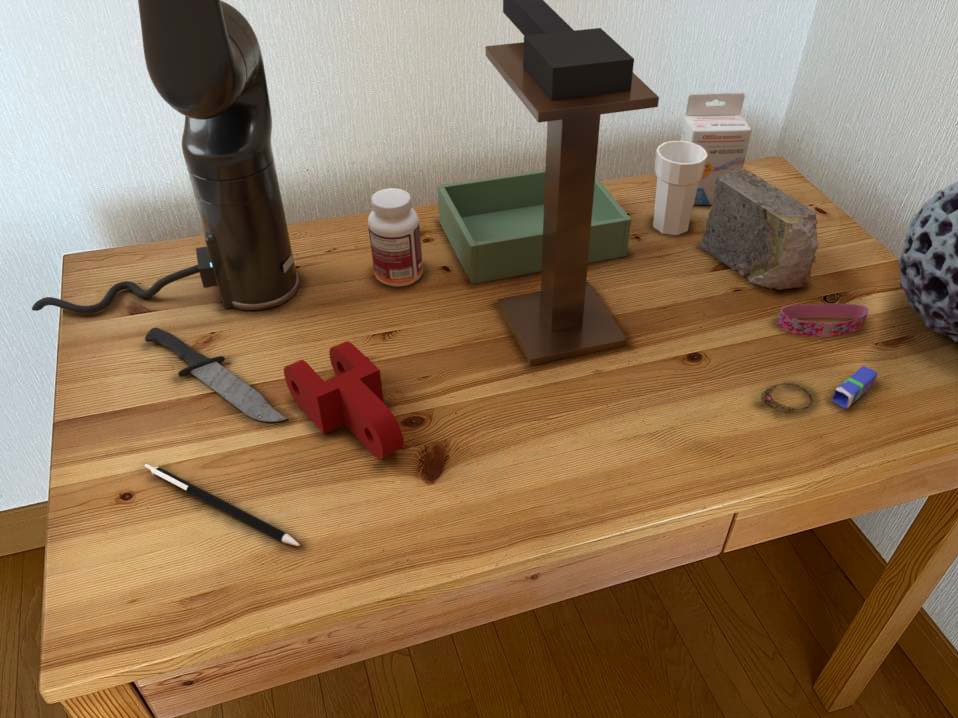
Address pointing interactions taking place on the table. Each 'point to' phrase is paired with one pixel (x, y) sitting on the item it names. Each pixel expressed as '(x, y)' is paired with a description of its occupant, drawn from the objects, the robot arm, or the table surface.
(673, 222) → the cup
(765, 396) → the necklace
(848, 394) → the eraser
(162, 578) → the table surface
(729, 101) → the ink box
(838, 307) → the headband
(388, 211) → the pill bottle
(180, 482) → the pen
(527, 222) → the bin
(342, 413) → the mechanical linkage
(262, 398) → the knife
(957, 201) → the decorative object
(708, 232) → the geological specimen
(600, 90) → the bar
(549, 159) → the shelf stand
